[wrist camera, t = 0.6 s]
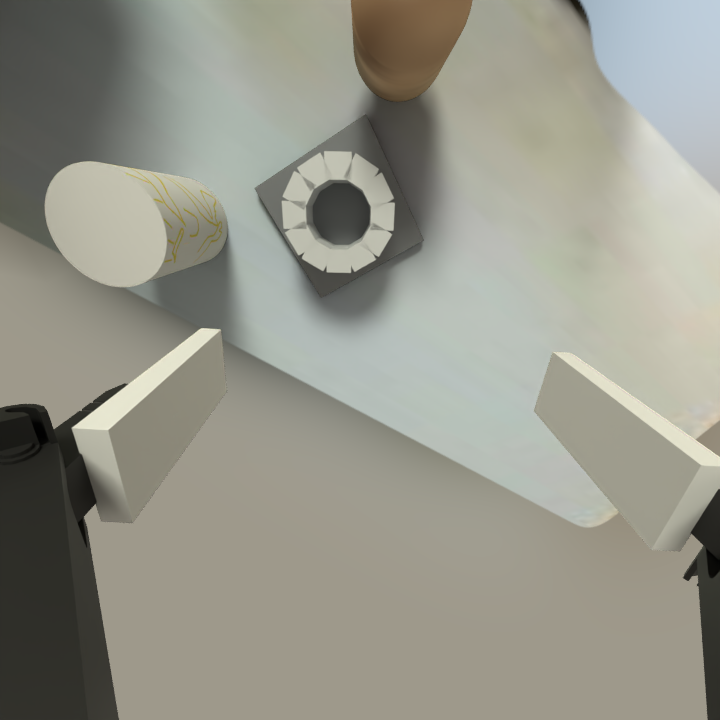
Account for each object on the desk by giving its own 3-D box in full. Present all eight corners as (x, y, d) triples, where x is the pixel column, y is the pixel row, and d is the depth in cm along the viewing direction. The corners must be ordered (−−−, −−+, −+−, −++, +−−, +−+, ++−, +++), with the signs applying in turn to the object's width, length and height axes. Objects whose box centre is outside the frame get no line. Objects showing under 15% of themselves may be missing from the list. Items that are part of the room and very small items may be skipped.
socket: (257, 188, 34) (238, 185, 29) (365, 116, 31) (366, 99, 26) (322, 295, 38) (315, 309, 33) (422, 239, 36) (432, 244, 31)
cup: (239, 252, 36) (186, 271, 25) (168, 272, 37) (86, 298, 26) (207, 166, 33) (130, 145, 22) (130, 189, 34) (19, 180, 23)
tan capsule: (339, 45, 29) (327, -40, 19) (414, -9, 28) (443, -131, 18) (378, 130, 32) (385, 94, 22) (449, 84, 30) (491, 23, 20)
